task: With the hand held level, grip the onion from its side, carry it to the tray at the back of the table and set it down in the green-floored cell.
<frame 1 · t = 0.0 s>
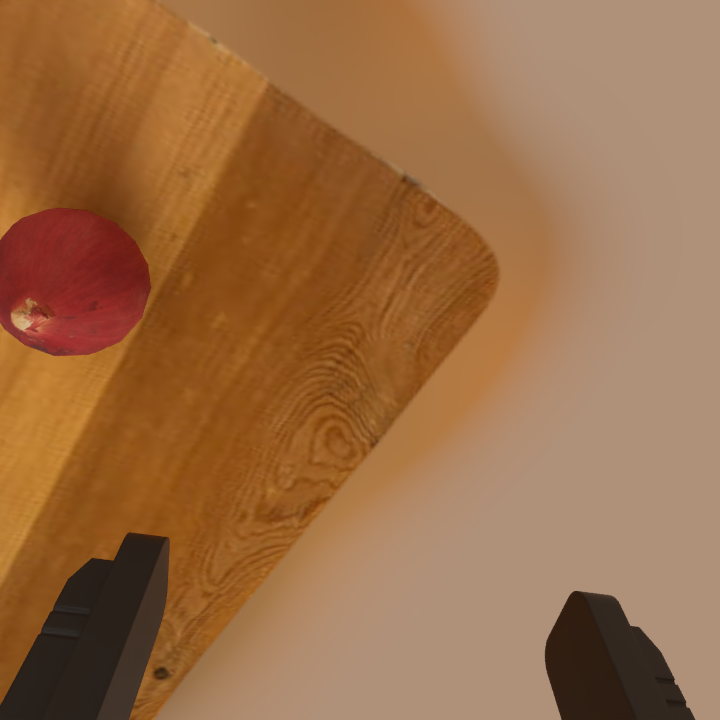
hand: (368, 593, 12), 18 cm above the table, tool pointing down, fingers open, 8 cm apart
onion: (108, 253, 27), on the table
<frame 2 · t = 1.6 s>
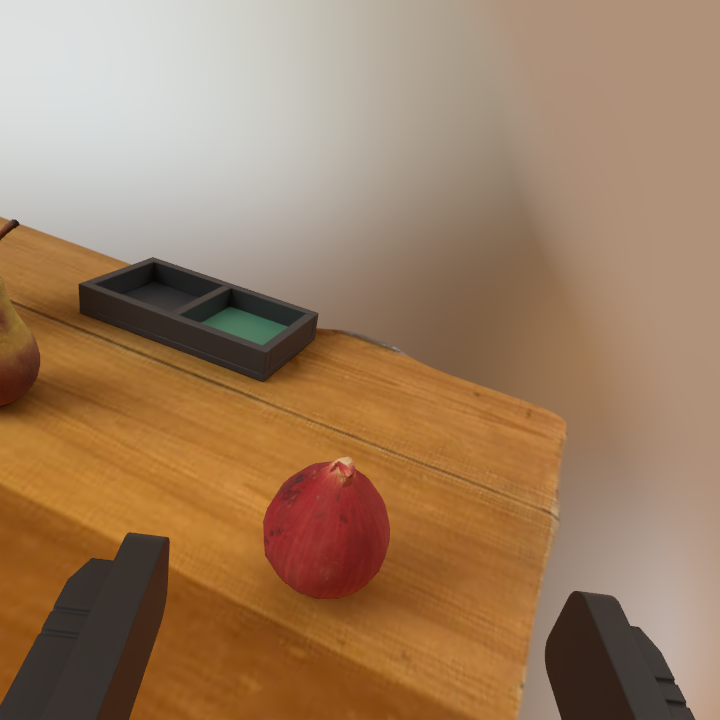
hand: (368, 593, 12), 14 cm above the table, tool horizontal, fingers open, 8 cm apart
onion: (314, 587, 29), on the table
tray: (201, 326, 51), on the table
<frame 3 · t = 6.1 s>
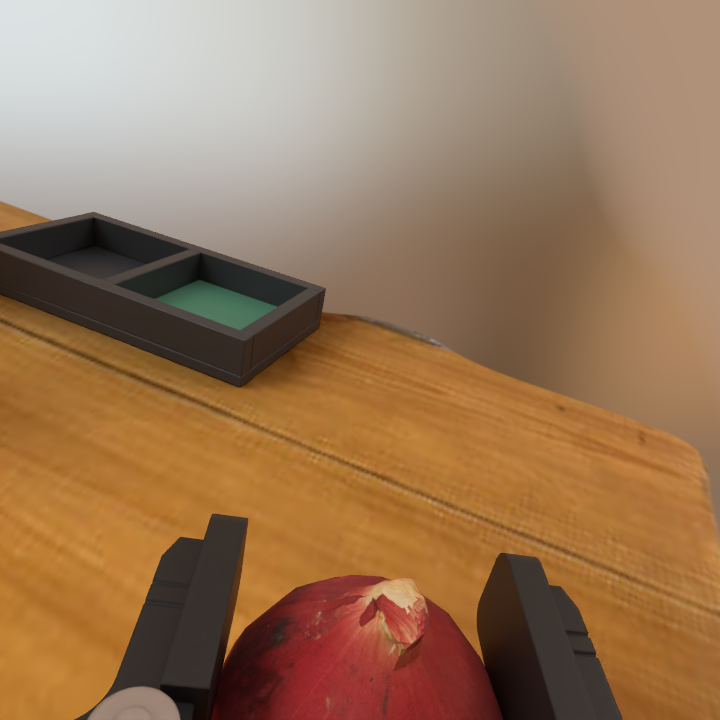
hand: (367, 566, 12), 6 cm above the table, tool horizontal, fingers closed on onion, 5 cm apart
tray: (154, 306, 35), on the table
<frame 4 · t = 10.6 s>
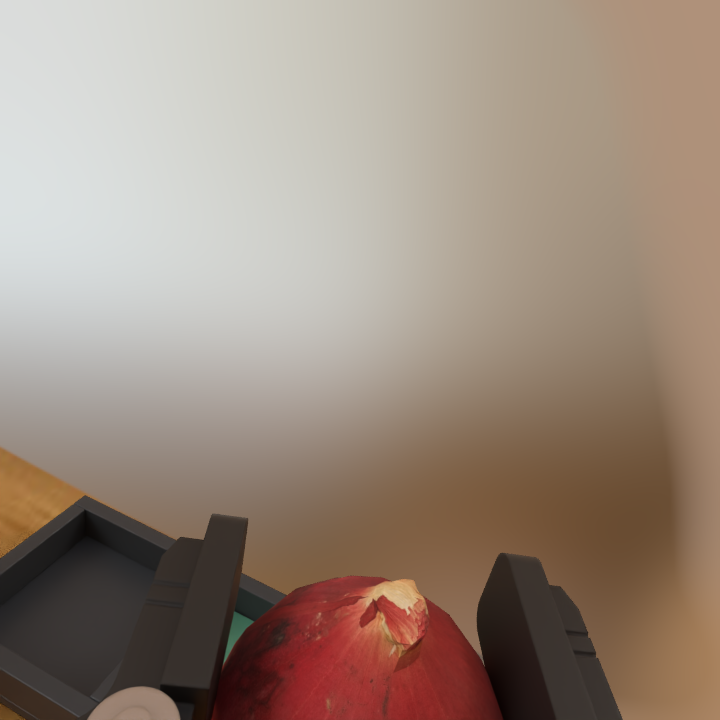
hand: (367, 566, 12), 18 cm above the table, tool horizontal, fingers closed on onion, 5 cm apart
tray: (158, 664, 28), on the table
when the fingers open (7 cm above the table, at t = 15.3 s): onion stays where it is, resting on tray.
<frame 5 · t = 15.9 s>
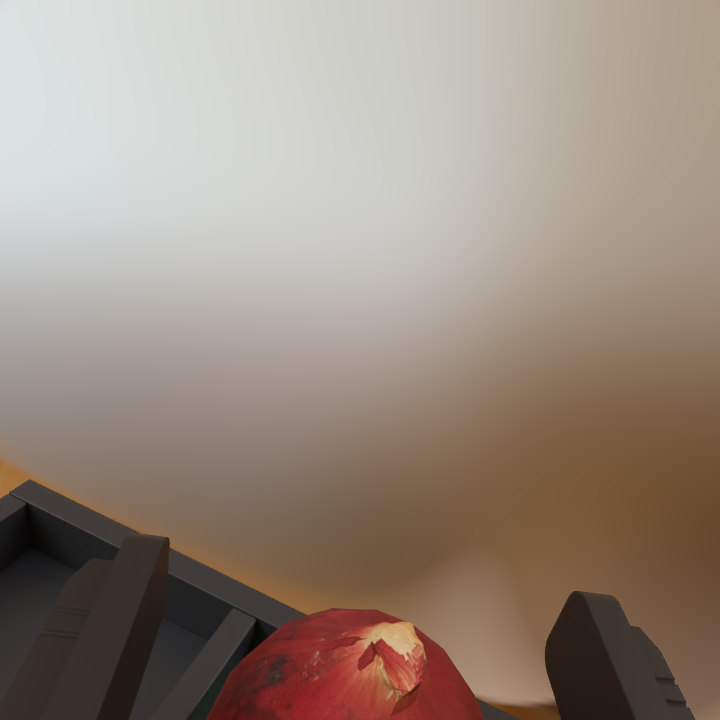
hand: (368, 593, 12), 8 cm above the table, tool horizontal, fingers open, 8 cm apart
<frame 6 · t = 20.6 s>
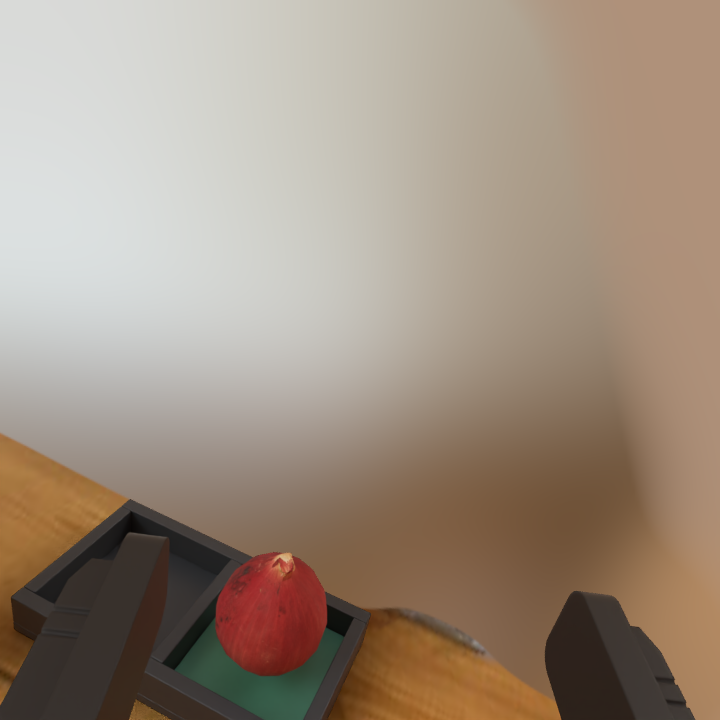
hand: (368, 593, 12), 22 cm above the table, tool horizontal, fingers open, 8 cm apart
onion: (263, 659, 33), point 1 cm above the table, touching tray
tray: (197, 635, 34), on the table
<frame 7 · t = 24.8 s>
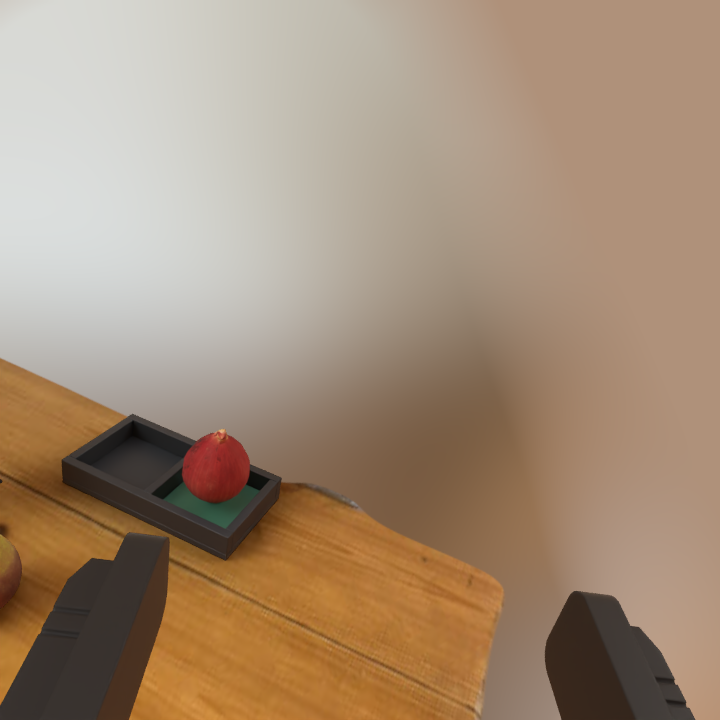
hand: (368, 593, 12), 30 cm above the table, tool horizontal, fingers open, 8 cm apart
onion: (213, 502, 54), point 1 cm above the table, touching tray
tray: (173, 490, 55), on the table
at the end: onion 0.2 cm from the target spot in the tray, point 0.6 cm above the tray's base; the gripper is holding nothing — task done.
